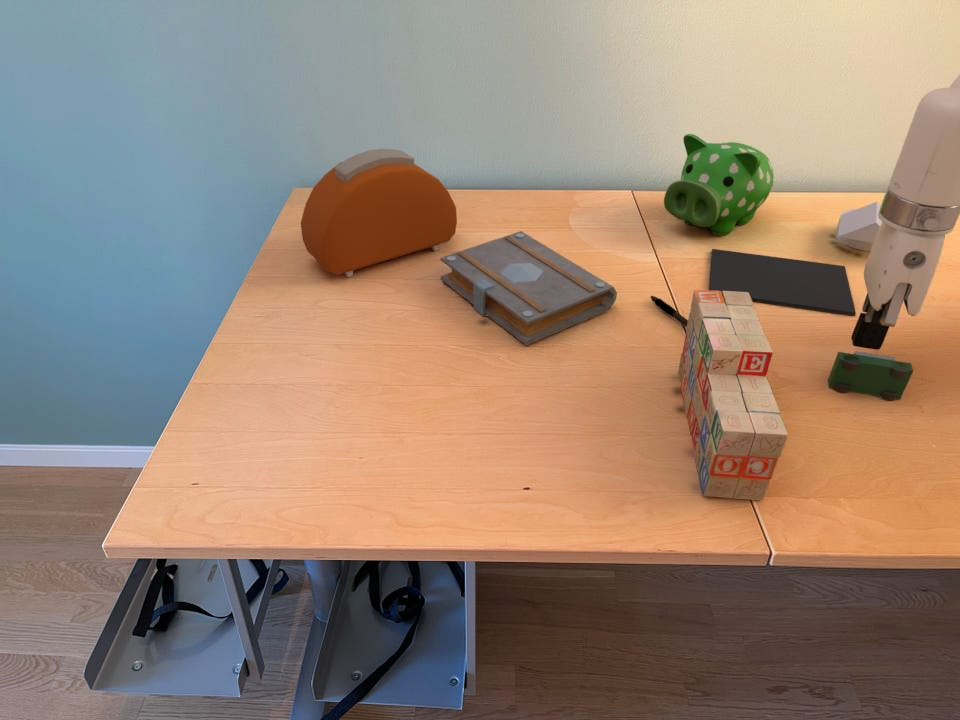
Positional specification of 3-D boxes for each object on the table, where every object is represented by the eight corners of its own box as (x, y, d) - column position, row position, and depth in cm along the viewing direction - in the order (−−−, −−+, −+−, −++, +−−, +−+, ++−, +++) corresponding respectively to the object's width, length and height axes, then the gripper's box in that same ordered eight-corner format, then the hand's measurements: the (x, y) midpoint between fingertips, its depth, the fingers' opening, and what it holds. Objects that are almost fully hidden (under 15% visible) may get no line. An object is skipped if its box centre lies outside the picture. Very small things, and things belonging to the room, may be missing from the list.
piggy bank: (648, 225, 122) (662, 140, 112) (707, 196, 131) (724, 115, 122) (720, 254, 113) (741, 164, 104) (777, 220, 123) (801, 136, 114)
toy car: (895, 384, 86) (909, 356, 83) (901, 403, 83) (914, 373, 81) (826, 373, 88) (836, 345, 85) (829, 390, 85) (840, 362, 82)
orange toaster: (432, 226, 122) (427, 130, 111) (459, 246, 115) (457, 147, 105) (305, 262, 111) (287, 160, 101) (327, 286, 105) (311, 180, 95)
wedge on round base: (893, 267, 110) (893, 233, 119) (908, 228, 105) (907, 195, 115) (831, 255, 113) (836, 223, 122) (844, 217, 109) (848, 186, 118)
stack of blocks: (764, 502, 71) (797, 411, 63) (701, 498, 71) (727, 406, 64) (727, 374, 88) (749, 289, 80) (676, 371, 88) (694, 287, 81)
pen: (723, 348, 92) (724, 341, 91) (713, 351, 91) (715, 344, 91) (656, 298, 102) (657, 291, 101) (647, 300, 101) (648, 294, 101)
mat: (843, 269, 109) (844, 265, 109) (854, 316, 98) (856, 312, 98) (711, 251, 114) (712, 248, 113) (708, 295, 103) (708, 291, 103)
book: (614, 309, 100) (618, 279, 97) (523, 348, 92) (525, 317, 89) (524, 252, 114) (525, 224, 111) (438, 282, 106) (437, 253, 103)
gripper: (974, 243, 70) (908, 385, 81) (943, 186, 81) (888, 318, 92) (893, 233, 72) (838, 374, 83) (873, 179, 83) (827, 309, 94)
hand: (865, 344), depth 88 cm, fingers closed
